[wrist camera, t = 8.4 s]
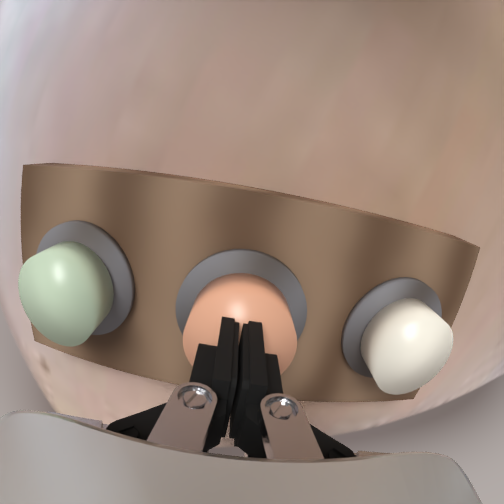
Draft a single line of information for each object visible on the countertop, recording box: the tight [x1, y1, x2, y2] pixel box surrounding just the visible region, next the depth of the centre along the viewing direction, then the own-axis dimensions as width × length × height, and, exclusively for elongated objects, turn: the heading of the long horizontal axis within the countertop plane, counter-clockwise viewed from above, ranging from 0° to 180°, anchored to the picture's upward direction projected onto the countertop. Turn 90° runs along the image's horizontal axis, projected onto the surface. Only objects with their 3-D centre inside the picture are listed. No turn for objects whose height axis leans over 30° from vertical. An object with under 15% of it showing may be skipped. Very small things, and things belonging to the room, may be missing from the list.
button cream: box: [360, 298, 453, 395], centre depth 14 cm, size 5×5×2 cm
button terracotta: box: [183, 273, 297, 375], centre depth 13 cm, size 5×5×2 cm
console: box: [21, 163, 480, 402], centre depth 16 cm, size 28×12×4 cm, turn 80°
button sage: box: [18, 241, 114, 346], centre depth 12 cm, size 5×5×2 cm
